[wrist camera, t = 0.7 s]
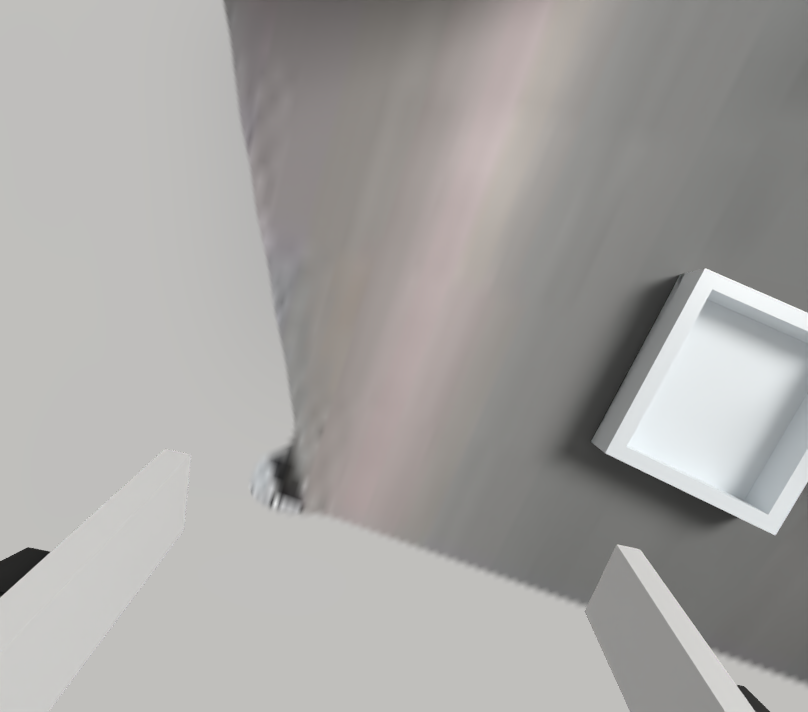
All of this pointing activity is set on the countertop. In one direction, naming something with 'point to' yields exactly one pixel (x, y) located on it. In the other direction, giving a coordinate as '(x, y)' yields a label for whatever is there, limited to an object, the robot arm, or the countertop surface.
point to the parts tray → (719, 400)
